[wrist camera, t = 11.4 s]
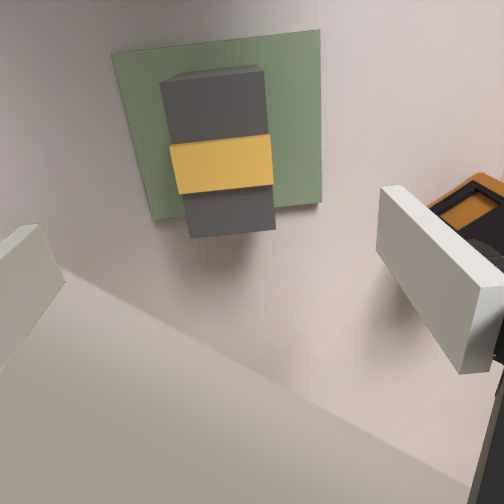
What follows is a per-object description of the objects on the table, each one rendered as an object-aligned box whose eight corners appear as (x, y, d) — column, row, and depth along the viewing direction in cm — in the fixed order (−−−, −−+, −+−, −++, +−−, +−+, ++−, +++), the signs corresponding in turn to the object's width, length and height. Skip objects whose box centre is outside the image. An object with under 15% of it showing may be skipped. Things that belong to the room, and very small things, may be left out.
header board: (115, 53, 29) (94, 54, 25) (317, 29, 29) (330, 27, 25) (155, 215, 36) (144, 237, 32) (319, 197, 36) (330, 218, 31)
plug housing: (180, 73, 29) (156, 83, 20) (257, 64, 29) (265, 71, 20) (201, 193, 34) (188, 242, 25) (267, 186, 34) (277, 233, 25)
